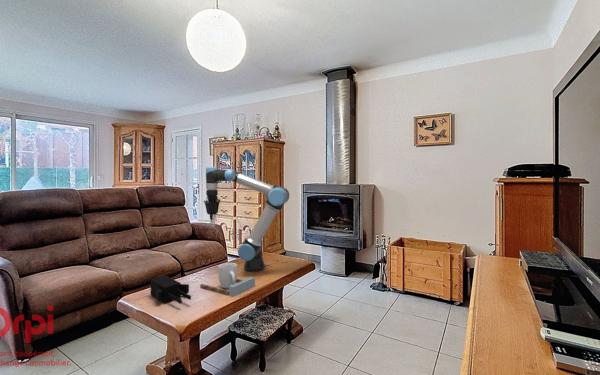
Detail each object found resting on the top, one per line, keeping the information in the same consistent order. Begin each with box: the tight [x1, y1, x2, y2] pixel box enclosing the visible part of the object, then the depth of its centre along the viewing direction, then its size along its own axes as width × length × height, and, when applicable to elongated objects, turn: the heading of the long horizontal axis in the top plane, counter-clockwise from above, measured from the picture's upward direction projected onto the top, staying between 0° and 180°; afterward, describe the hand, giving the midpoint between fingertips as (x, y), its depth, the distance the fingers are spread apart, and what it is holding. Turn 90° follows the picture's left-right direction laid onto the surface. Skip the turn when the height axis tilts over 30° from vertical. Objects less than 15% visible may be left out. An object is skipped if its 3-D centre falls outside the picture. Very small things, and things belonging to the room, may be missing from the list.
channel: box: [199, 278, 244, 296], centre depth 178 cm, size 23×19×2 cm
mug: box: [217, 262, 238, 290], centre depth 176 cm, size 15×11×13 cm
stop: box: [228, 276, 256, 297], centre depth 171 cm, size 3×18×5 cm, turn 148°
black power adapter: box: [150, 275, 192, 305], centre depth 159 cm, size 17×9×30 cm
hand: (212, 224), depth 202 cm, fingers closed
